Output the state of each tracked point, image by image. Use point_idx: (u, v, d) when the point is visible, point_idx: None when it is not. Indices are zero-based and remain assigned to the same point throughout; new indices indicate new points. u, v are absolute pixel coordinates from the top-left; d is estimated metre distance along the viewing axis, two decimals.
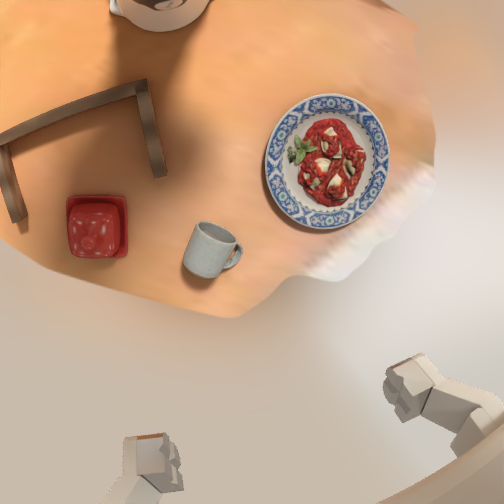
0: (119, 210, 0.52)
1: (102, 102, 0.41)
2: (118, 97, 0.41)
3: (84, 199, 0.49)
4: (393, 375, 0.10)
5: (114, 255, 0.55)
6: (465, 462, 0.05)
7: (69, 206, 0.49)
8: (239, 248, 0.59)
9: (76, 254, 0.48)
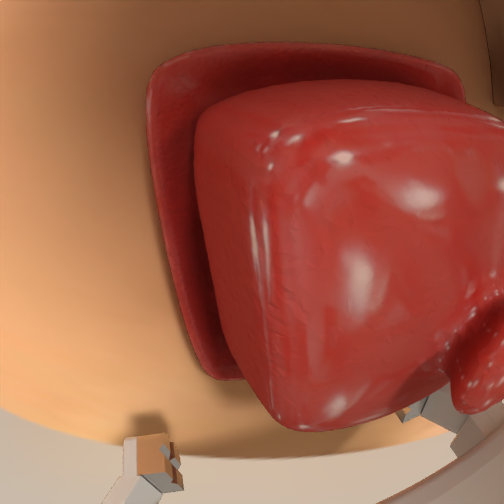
0: None
1: None
2: None
3: (279, 65, 0.08)
4: None
5: None
6: (465, 462, 0.05)
7: (170, 121, 0.08)
8: None
9: (320, 430, 0.07)
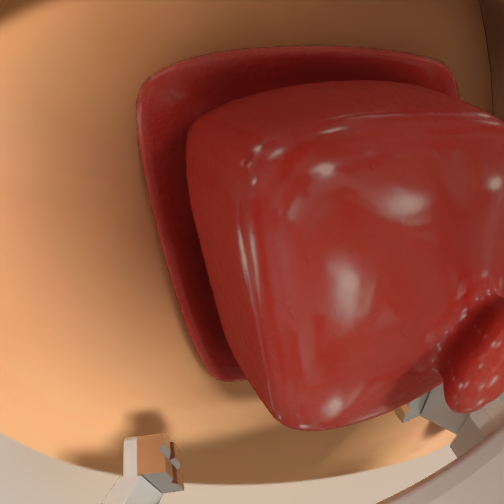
0: None
1: None
2: None
3: (266, 70, 0.08)
4: None
5: None
6: (465, 462, 0.05)
7: (161, 133, 0.08)
8: None
9: (320, 429, 0.07)
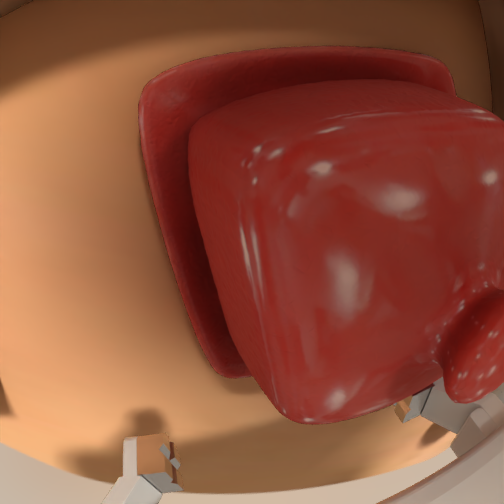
0: None
1: None
2: None
3: (265, 71, 0.08)
4: None
5: None
6: (465, 462, 0.05)
7: (163, 135, 0.08)
8: None
9: (324, 422, 0.07)
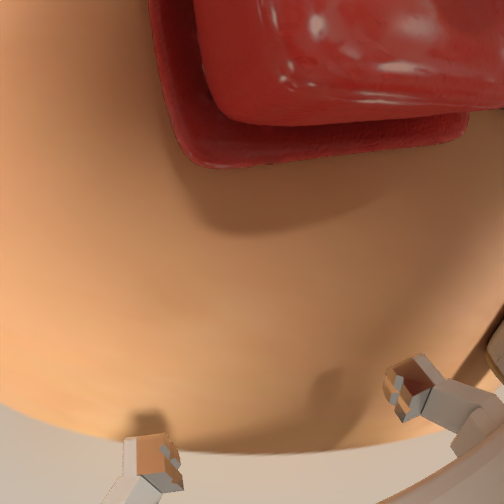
0: None
1: None
2: None
3: None
4: (393, 375, 0.10)
5: (431, 135, 0.10)
6: (465, 462, 0.05)
7: None
8: None
9: (347, 52, 0.04)
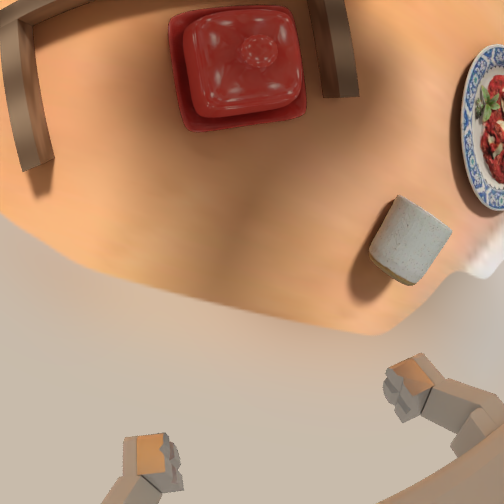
0: None
1: None
2: None
3: (209, 14, 0.22)
4: (393, 375, 0.10)
5: (282, 116, 0.27)
6: (465, 462, 0.05)
7: (175, 32, 0.22)
8: None
9: (219, 99, 0.21)
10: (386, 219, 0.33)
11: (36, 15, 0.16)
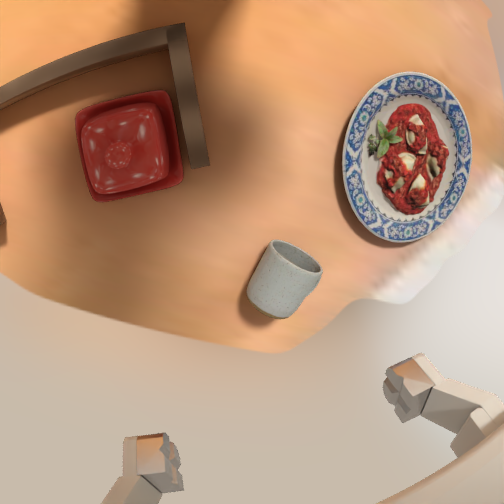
0: (161, 111, 0.32)
1: (115, 54, 0.25)
2: (140, 47, 0.26)
3: (103, 108, 0.30)
4: (393, 375, 0.10)
5: (163, 186, 0.35)
6: (465, 462, 0.05)
7: (80, 125, 0.30)
8: None
9: (101, 188, 0.29)
10: (259, 262, 0.41)
11: None
